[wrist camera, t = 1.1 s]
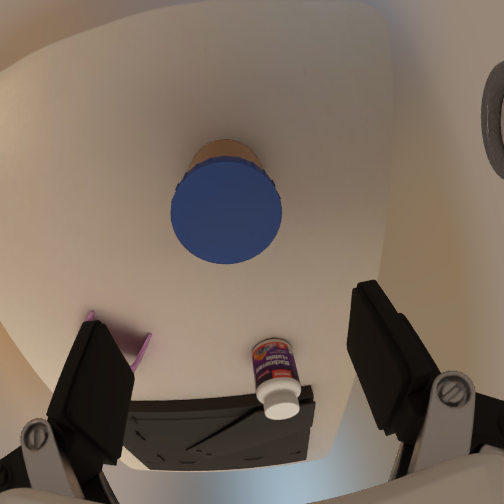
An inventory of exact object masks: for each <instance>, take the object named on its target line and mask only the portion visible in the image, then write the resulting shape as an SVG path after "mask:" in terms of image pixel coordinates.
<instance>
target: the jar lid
mask: <svg viewBox="0 0 504 504" xmlns="http://www.w3.org/2000/svg"><path fill="white" fill-rule="evenodd" d="M175 190H176V192H175V195H174V197H173V199H172V201H171V203H172V204H171V222H172V226H173V229H174V232H175V234H176V236H177V238H178V239H179V241H180V242H181V244H182V245H183V246H184V247H185V248H186V249H187V250H188V251H189V252H191V253H192V254H194V255H195V256H197V257H199V258H201V259H203V260H205V261H208V262H212V263H217V264H234V263H239V262H243V261H246V260H249V259H251V258H253V257H255V256H256V255H258V254H260V253H261V252H262V251H263V250H265V249H266V248H267V247H268V246H269V245H270V243H271V242H272V241H273V239H274V238H275V236H276V234H277V232H278V230H279V227H280V223H281V217H282V207H281V201H280V199H281V198H280V196H279V194H278V192H277V191H276V189H275V184H274V182H273V180H271V179H270V178H269V176H268V175H267V174H266V172H265V170H264V169H263V170H262V169H261V168H260V167H259V166H257V165H255V164H254V162H253V161H252V162H250V161H248V160H246V159H242V158H240V156H238V157H233V156H225V155H224V156H220V157H214V158H211V157H209V159H208V160H205V161H203V162H201V163H199V164H198V163H197V164H196V165H195V166H194V167H193V168H192V169H191V170H190V171H189V172H188V173H187V172H186V173H185V175H184V177H183V179H182V180H181V182H180V184H179V183H178V185H177V187H176V189H175Z"/></svg>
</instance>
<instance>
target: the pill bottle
mask: <svg viewBox="0 0 504 504" xmlns="http://www.w3.org/2000/svg"><path fill="white" fill-rule="evenodd" d="M252 360H253V370H254V378H255V388H256V396H257V398H258V400H259V401H260V402H261V403H263V404H264V411H265V415H266V417H268V418H270V419H274V420H282V419H287V418H290V417H293V416H294V415H296V414H297V413H298V412H299V409H300V408H299V402H298V399H297V398H298V396H299V395H300V392H301V385H300V381H299V377H298V372H297V368H296V364H295V360H294V355H293V351H292V348H291V346H290V345H289V344H288V343H287V342H286V341H283V340H280V339H270V340H266V341H263V342H261V343H259V344H258V345H257V346H256V347H255V348H254V349H253V352H252Z"/></svg>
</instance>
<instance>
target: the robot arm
mask: <svg viewBox="0 0 504 504" xmlns="http://www.w3.org/2000/svg"><path fill="white" fill-rule="evenodd" d="M501 134H502V140H503V144H504V99H503V103H502V109H501ZM347 350H348V353H349V356H350V358H351V361H352V363H353V366H354V368H355V371H356V373H357V376H358V378H359V381H360V383H361V386H362V388H363V390H364V393H365V395H366V398H367V401H368V403H369V406H370V408H371V411H372V414H373V417H374V419H375V422H376V424H377V427H378V429H379V430H383V429H384V432H385V435H386V436H388V435H391V434H394V433H396V436H397V438H398V440H399V441H401V443H400V446H399V450H398V453H397V456H396V459H395V463H394V466H393V468H392V471H391V474H390V477H389V480H388V482H387V483H384V484H381V485H378V486H375V487H372V488H368V489H364V490H361V491H358V492H354V493H351V494H347V495H343V496H339V497H335V498H331V499H327V500H322V501H318V502H313V503H307V504H504V401H503V400H499V399H496V398H493V397H489V396H486V395H483V394H479V393H476V392H475V386H474V384H473V382H472V380H471V379H470V378H469V377H468V376H467V375H465V374H463V373H462V372H458V371H446V372H443V373H441V372H440V371H439V369H438V367H437V365H436V364H435V362H434V360H433V359H432V357H431V356H430V354H429V353H428V351H427V349H426V347H425V346H424V344H423V343H422V341H421V340H420V338H419V336H418V335H417V333H416V332H415V330H414V329H413V327H412V326H411V324H410V323H409V321H408V320H407V318H406V317H405V316H404V314H402V313H397V311H396V309H395V308H394V306H393V305H392V303H391V302H390V300H389V299H388V297H387V296H386V294H385V293H384V292H383V290H382V289H381V287H380V286H379V284H378V283H377V281H376V280H369V281H364V282H359V283H358V284H357V288H353V290H352V299H351V310H350V319H349V328H348V337H347ZM134 380H135V377H134V373H133V371H132V369H131V368H130V366H129V364H128V363H127V361H126V359H125V358H124V356H123V354H122V353H121V351H120V349H119V348H118V346H117V344H116V342H115V341H114V339H113V337H112V335H111V333H110V332H109V330H108V328H107V326H106V325H105V324H102V322H101V321H99V320H93V321H85V322H83V324H82V326H81V328H80V330H79V332H78V334H77V337H76V339H75V341H74V344H73V346H72V348H71V350H70V353H69V355H68V358H67V360H66V362H65V365H64V367H63V370H62V372H61V375H60V377H59V380H58V383H57V385H56V388H55V391H54V393H53V397H52V399H51V402H50V405H49V408H48V411H47V414H46V415H47V416H48V420H47V421H46V420H44V419H42V418H36V419H33V420H31V421H30V422H28V423H27V424H26V425H25V427H24V428H23V430H22V432H21V437H20V441H21V446H19V447H18V448H17V449H15V450H14V451H12V452H11V453H9V454H8V455H7V456H5V457H4V458H2V459H1V460H0V504H119V502H118V501H117V498H116V497H115V495H114V493H113V491H112V489H111V487H110V485H109V483H108V481H107V479H106V477H105V475H104V473H103V471H102V466H103V464H108V465H115V466H116V465H117V459H119V458H120V457H121V453H122V447H123V440H124V434H125V428H126V422H127V417H128V411H129V406H130V401H131V396H132V391H133V386H134Z"/></svg>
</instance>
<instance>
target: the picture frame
mask: <svg viewBox="0 0 504 504" xmlns="http://www.w3.org/2000/svg"><path fill="white" fill-rule="evenodd" d="M313 398H314V396H313V392H312V388H311V385H309V386H304V387H301V392H300V395H299V396H298V398H297V399H298V402H299V408H300V409H299V412H298V413H297V414H296V415H294V416H293V417H290V418H287V419H282V420H274V419H270V418H268V417H266V415H265V411H264V404H263V403H261V402H260V401H259V400H258V398H257V396H256V394H251V395H243V396H234V397H223V398H212V399H197V400H177V401H130V406H129V411H128V417H127V422H126V428H125V434H124V440H123V446H124V447H125V448H126V449H127V450H128V451H130V452H131V453H132V454H133V455H134V456H135V457H136V458H137V459H138V460H140V461H141V462H142V463H143V464H144V465H145V466H146V467H148V468H149V469H150V470H168V471H210V470H230V469H243V468H254V467H263V466H271V465H278V464H285V463H291V462H297V461H302V460H306V458H307V450H308V443H309V434H310V427H312V424H313V417H314V410H315V401H314V402H313Z"/></svg>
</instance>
